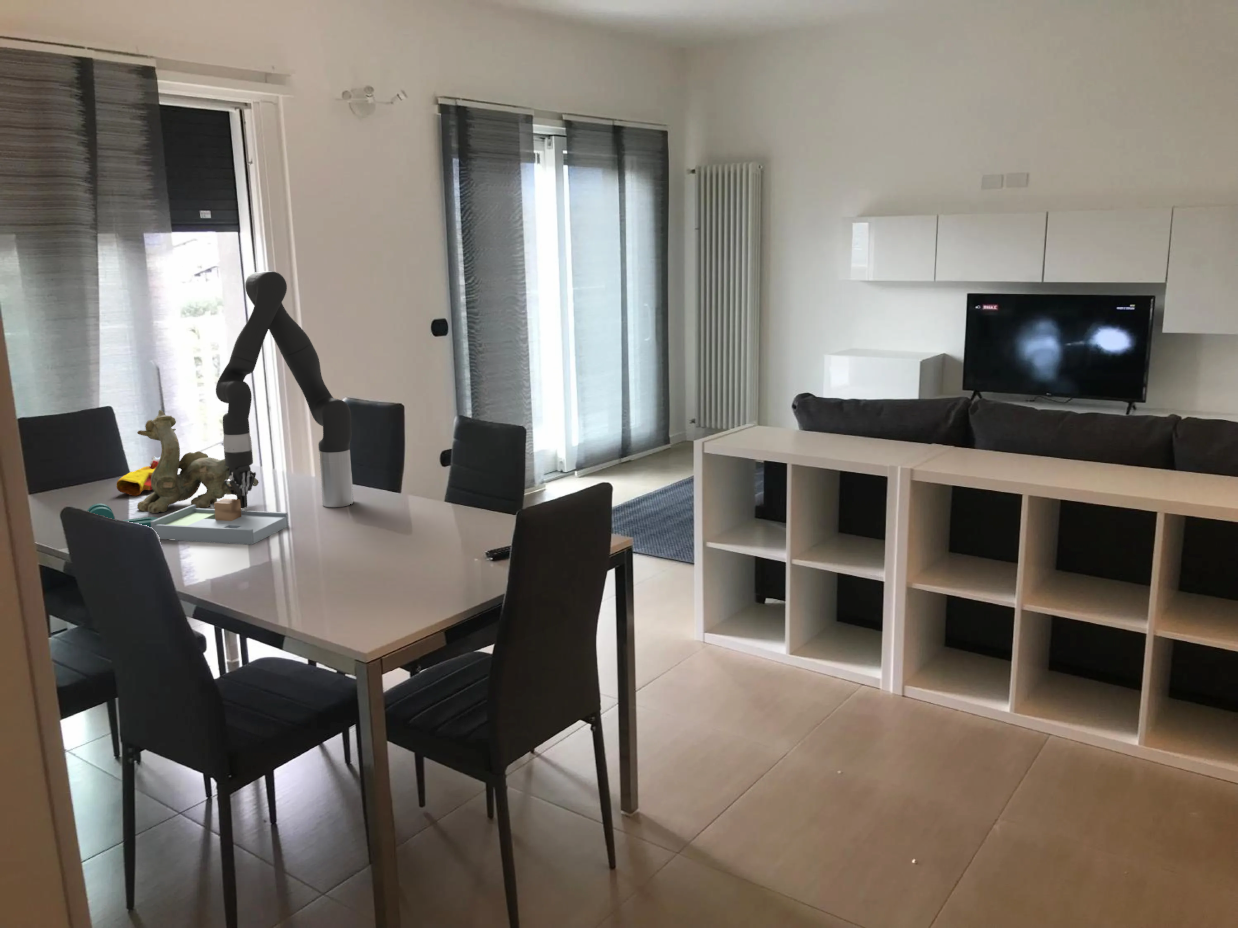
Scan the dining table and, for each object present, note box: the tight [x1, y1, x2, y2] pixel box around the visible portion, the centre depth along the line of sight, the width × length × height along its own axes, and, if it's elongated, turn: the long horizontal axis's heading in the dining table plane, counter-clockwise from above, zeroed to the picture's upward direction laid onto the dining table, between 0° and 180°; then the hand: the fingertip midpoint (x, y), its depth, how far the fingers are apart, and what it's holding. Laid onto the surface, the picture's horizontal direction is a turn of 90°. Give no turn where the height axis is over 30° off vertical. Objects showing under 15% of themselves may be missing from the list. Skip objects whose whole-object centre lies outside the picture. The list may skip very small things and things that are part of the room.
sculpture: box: [136, 409, 260, 514], centre depth 307 cm, size 29×27×30 cm
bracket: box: [86, 503, 159, 527], centre depth 281 cm, size 18×7×8 cm, turn 121°
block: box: [213, 498, 242, 521], centre depth 281 cm, size 5×5×5 cm
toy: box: [116, 455, 161, 497], centre depth 334 cm, size 9×13×30 cm
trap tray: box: [151, 504, 289, 546], centre depth 277 cm, size 19×30×5 cm, turn 79°
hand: (242, 507), depth 287 cm, fingers closed
